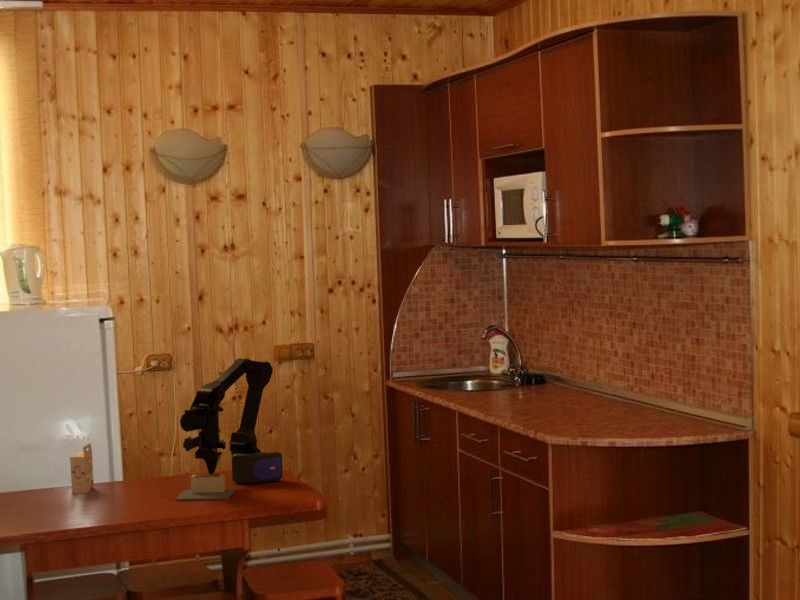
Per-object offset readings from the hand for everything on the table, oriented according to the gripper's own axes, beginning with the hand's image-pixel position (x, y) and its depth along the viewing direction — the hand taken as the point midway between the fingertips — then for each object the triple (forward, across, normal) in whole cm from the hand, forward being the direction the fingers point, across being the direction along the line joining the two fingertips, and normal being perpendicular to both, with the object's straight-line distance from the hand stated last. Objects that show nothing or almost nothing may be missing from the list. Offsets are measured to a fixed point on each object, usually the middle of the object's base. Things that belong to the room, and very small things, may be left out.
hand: (211, 476), depth 375 cm
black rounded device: (+4, -10, +13) cm, 17 cm away
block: (+4, +7, 0) cm, 7 cm away
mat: (+4, +10, 0) cm, 11 cm away
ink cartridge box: (+4, -1, -42) cm, 42 cm away
